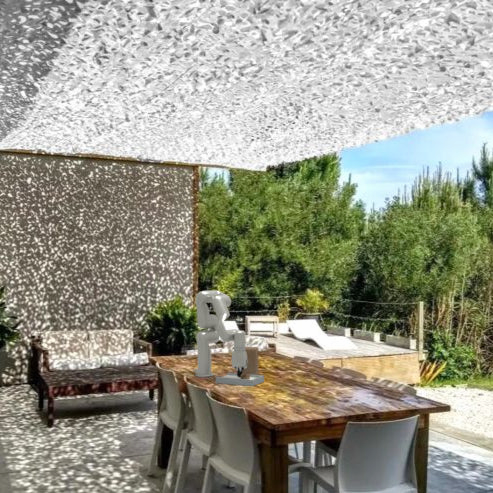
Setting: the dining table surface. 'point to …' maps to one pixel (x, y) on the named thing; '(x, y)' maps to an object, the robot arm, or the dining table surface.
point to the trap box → (240, 380)
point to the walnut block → (245, 376)
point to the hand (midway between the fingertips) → (239, 376)
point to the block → (251, 361)
